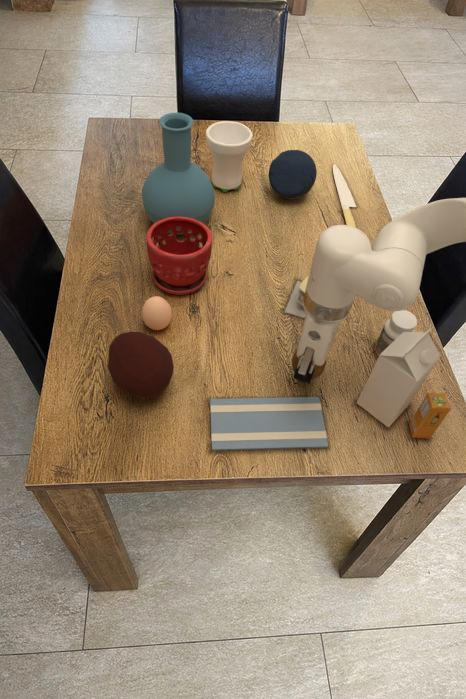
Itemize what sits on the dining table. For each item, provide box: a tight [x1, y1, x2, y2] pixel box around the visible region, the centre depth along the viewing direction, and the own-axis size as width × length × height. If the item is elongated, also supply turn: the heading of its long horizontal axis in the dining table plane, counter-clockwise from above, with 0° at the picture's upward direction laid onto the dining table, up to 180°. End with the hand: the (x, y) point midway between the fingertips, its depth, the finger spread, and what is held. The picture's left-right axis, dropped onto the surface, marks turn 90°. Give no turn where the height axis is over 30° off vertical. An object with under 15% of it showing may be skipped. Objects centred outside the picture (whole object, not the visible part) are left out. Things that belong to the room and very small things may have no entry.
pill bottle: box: [374, 309, 418, 357], centre depth 96 cm, size 6×6×10 cm
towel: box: [209, 396, 329, 452], centre depth 88 cm, size 20×10×1 cm, turn 93°
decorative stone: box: [268, 149, 318, 200], centre depth 126 cm, size 12×12×10 cm
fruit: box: [291, 349, 327, 381], centre depth 92 cm, size 6×6×8 cm
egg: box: [141, 295, 173, 331], centre depth 98 cm, size 6×6×8 cm
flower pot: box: [146, 217, 213, 295], centre depth 104 cm, size 13×13×12 cm
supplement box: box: [408, 392, 452, 440], centre depth 86 cm, size 3×3×10 cm
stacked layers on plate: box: [284, 274, 309, 319], centre depth 105 cm, size 10×9×6 cm
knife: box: [332, 163, 357, 228], centre depth 129 cm, size 1×33×4 cm
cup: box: [205, 120, 254, 193], centre depth 125 cm, size 11×11×14 cm
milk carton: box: [356, 328, 441, 428], centre depth 85 cm, size 7×7×19 cm
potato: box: [107, 331, 175, 399], centre depth 88 cm, size 11×13×10 cm
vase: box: [141, 112, 216, 236], centre depth 111 cm, size 16×16×25 cm
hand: (308, 365), depth 92 cm, fingers closed on fruit, 6 cm apart
